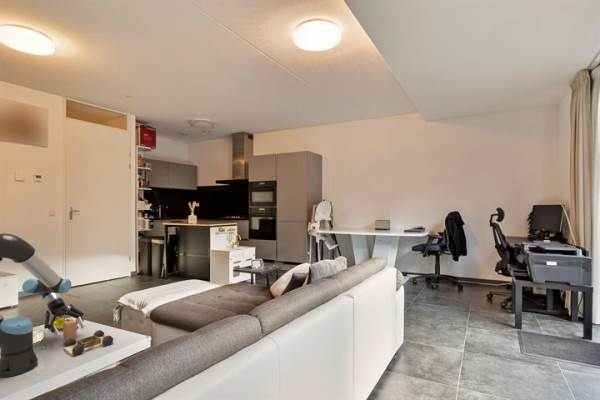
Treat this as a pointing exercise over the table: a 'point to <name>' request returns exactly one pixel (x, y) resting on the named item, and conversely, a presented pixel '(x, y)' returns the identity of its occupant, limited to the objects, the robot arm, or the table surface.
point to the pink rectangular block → (69, 330)
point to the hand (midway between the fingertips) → (71, 331)
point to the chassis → (87, 343)
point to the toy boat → (60, 323)
